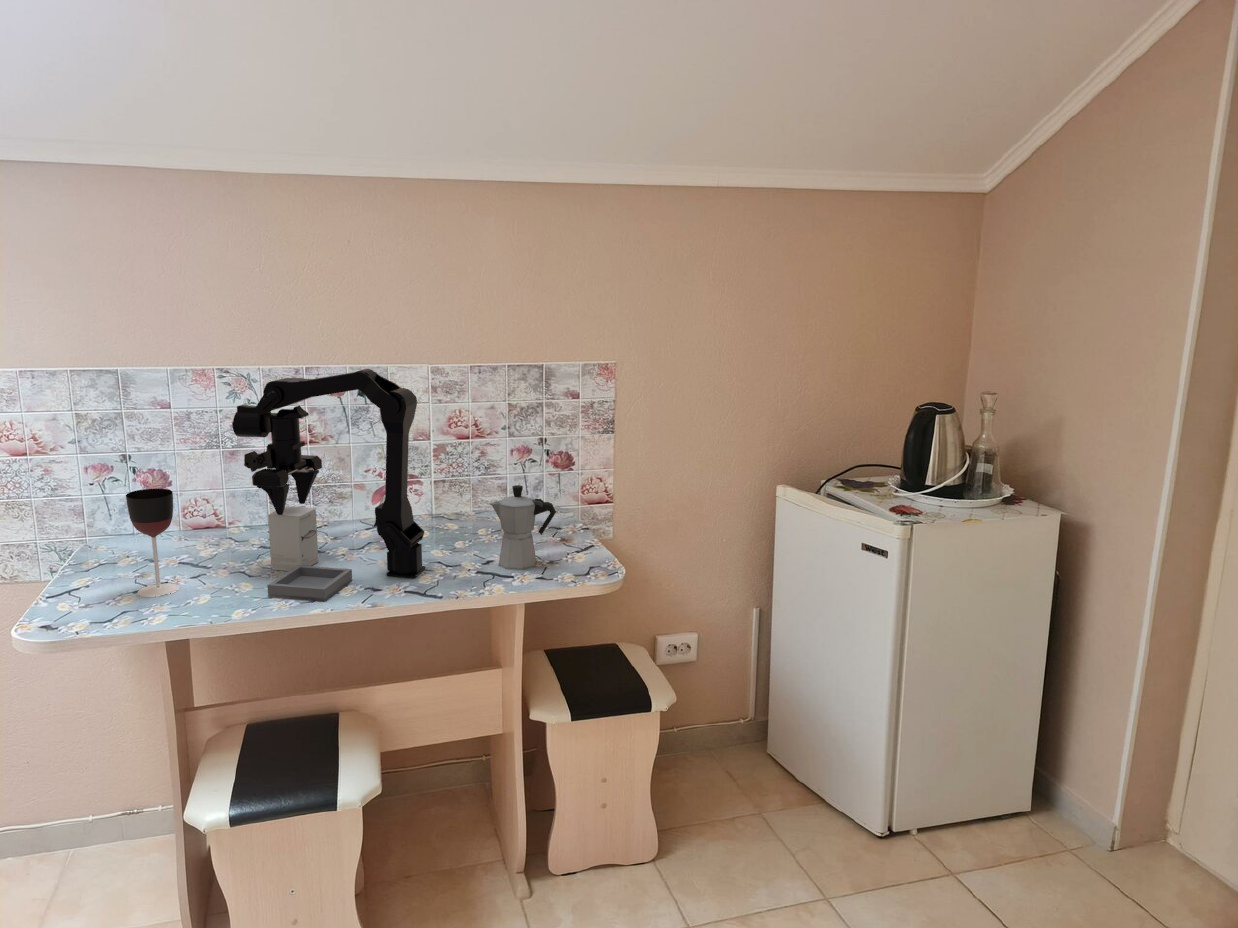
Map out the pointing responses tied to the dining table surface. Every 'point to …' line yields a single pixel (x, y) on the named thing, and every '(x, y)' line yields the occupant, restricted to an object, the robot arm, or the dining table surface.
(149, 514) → the wineglass
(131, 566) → the dining table surface
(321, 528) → the dining table surface
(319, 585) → the tray
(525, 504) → the coffee maker
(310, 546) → the supplement box
